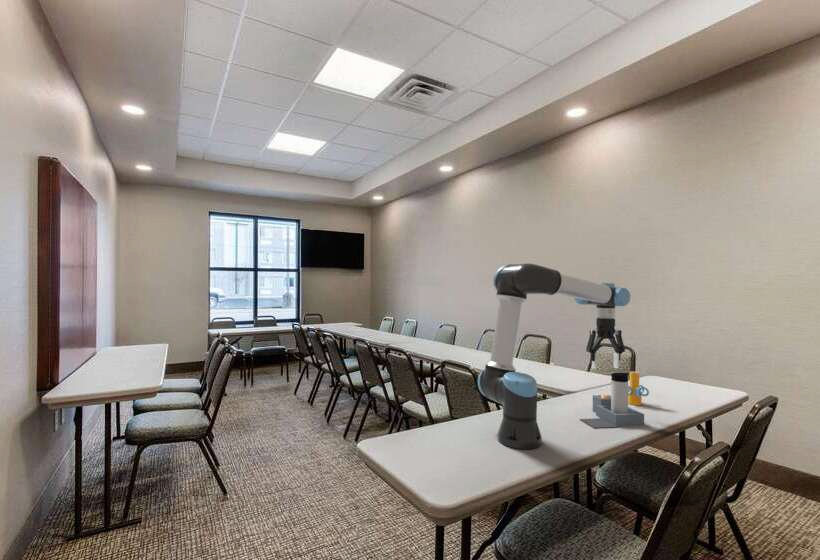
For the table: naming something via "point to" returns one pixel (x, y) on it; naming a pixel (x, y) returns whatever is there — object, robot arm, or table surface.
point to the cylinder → (635, 389)
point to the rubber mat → (598, 423)
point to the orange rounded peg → (604, 396)
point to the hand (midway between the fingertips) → (605, 368)
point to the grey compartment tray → (604, 411)
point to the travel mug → (619, 393)
